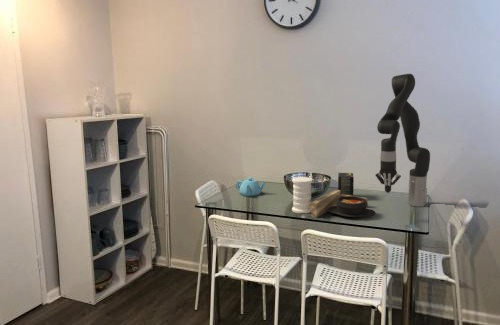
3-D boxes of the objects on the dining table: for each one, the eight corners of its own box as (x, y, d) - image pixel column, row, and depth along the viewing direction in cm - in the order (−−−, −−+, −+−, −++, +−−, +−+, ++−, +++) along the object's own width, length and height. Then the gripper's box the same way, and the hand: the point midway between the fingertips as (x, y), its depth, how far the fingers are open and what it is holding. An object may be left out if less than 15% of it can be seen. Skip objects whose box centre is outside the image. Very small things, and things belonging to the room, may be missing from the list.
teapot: (252, 189, 279) (252, 174, 277) (267, 194, 268) (266, 177, 265) (234, 193, 270) (233, 177, 268) (248, 198, 259) (247, 181, 256)
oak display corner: (367, 206, 236) (367, 193, 235) (343, 223, 211) (343, 208, 209) (337, 201, 247) (337, 188, 246) (311, 216, 222) (311, 202, 220)
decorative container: (308, 206, 240) (308, 176, 236) (315, 212, 228) (315, 180, 225) (289, 208, 237) (289, 177, 234) (295, 214, 226) (295, 182, 222)
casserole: (377, 211, 227) (377, 196, 226) (373, 222, 211) (373, 206, 209) (331, 207, 237) (331, 193, 235) (324, 217, 220) (324, 202, 219)
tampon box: (353, 200, 249) (354, 176, 246) (337, 199, 251) (338, 176, 248) (352, 195, 259) (353, 172, 257) (337, 194, 261) (338, 172, 258)
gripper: (403, 158, 209) (403, 191, 212) (377, 157, 216) (377, 189, 220) (399, 161, 203) (398, 195, 206) (372, 159, 210) (372, 192, 214)
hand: (387, 192), depth 213 cm, fingers closed
